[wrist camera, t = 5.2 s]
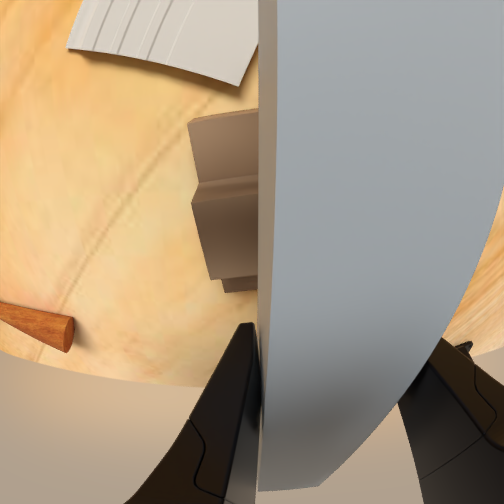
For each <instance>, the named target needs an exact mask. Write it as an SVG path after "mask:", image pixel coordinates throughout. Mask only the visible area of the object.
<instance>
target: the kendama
mask: <svg viewBox="0 0 504 504" xmlns="http://www.w3.org/2000/svg"><path fill="white" fill-rule="evenodd" d="M0 319H1V320H2V321H4V322H6V323H8V324H9V325H11V326H13V327H15V328H17V329H18V330H20V331H22V332H24V333H26V334H28V335H30V336H31V337H33V338H35V339H37V340H39V341H41V342H43V343H45V344H47V345H50V346H52V347H54V348H56V349H58V350H60V351H62V352H65V353H67V352H68V351H69V350H70V348H71V345H72V341H73V337H74V330H75V329H74V322H73V317H69V316H64V315H58V314H53V313H48V312H43V311H38V310H33V309H29V308H24V307H20V306H15V305H11V304H7V303H3V302H0Z"/></svg>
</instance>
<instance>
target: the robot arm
mask: <svg viewBox="0 0 504 504" xmlns="http://www.w3.org/2000/svg"><path fill="white" fill-rule="evenodd" d="M472 346H473V343H472V341H469V342H467V343H464V344H461V345H459V346H456V347H454V346H452V345H451V344H450V343H449V342H447V341H446V340H445V339H443V338H442V337H441V338H440V340H439V342H438V343H437V345H436V347H435V348H434V350H433V352H432V353H431V355H430V356H429V358H428V359H427V361H426V363H425V364H424V366H423V367H422V369H421V370H420V372H419V373H418V374H417V376H416V377H415V379H414V380H413V382H412V383H411V384H410V386H409V387H408V389H407V390H406V391H405V393H404V394H403V395H402V397H401V398H400V399H399V401H398V402H397V403H398V406H399V409H400V413H401V416H402V419H403V422H404V426H405V429H406V432H407V436H408V440H409V443H410V447H411V450H412V454H413V458H414V462H415V466H416V470H417V474H418V478H419V483H420V487H421V492H422V497H423V502H424V504H504V386H503V385H502V384H501V383H499V382H498V381H496V380H495V379H494V378H493V377H491V376H490V375H489V374H487V373H486V372H485V371H484V370H482V369H481V368H480V367H479V366H477V365H476V364H474V362H473V360H472V358H471V356H470V354H469V351H470V349H471V348H472ZM260 418H261V376H260V362H259V350H258V341H257V336H256V330H255V325H254V323H252V322H249V323H241V324H239V326H238V327H237V329H236V331H235V333H234V335H233V337H232V339H231V341H230V342H229V344H228V346H227V348H226V350H225V352H224V354H223V356H222V357H221V359H220V361H219V363H218V365H217V367H216V369H215V370H214V372H213V374H212V376H211V378H210V380H209V381H208V383H207V385H206V387H205V389H204V391H203V393H202V394H201V396H200V398H199V400H198V402H197V403H196V405H195V407H194V409H193V411H192V413H191V414H190V416H189V419H188V420H187V421H186V423H185V425H184V427H183V428H182V430H181V432H180V433H179V435H178V437H177V438H176V440H175V442H174V443H173V445H172V446H171V448H170V449H169V451H168V452H167V453H166V455H165V456H164V457H163V459H162V460H161V461H160V463H159V464H158V465H157V467H156V468H155V469H154V471H153V472H152V473H151V474H150V475H149V477H148V478H147V479H146V481H145V482H144V483H143V484H142V486H141V487H140V488H139V489H138V491H137V492H136V493H135V494H134V495H133V496H132V497H131V498H130V499H129V500H128V501H126V502H125V503H124V504H255V495H256V480H257V466H258V451H259V435H260Z"/></svg>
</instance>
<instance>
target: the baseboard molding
mask: <svg viewBox="0 0 504 504" xmlns="http://www.w3.org/2000/svg"><path fill="white" fill-rule="evenodd" d="M257 45H258V0H83V2H82V5H81V7H80V10H79V12H78V14H77V17H76V19H75V22H74V25H73V27H72V30H71V33H70V36H69V39H68V42H67V45H66V48H71V49H80V50H88V51H96V52H103V53H110V54H116V55H122V56H127V57H133V58H138V59H143V60H147V61H152V62H156V63H161V64H165V65H169V66H173V67H177V68H180V69H184V70H188V71H191V72H195V73H198V74H201V75H205V76H208V77H211V78H214V79H218V80H221V81H224V82H227V83H230V84H233V85H235V86H238V87H239V85H240V82H241V80H242V78H243V75H244V73H245V71H246V69H247V66H248V64H249V62H250V60H251V58H252V55H253V53H254V51H255V49H256V47H257Z"/></svg>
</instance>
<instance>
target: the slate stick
mask: <svg viewBox="0 0 504 504" xmlns="http://www.w3.org/2000/svg"><path fill="white" fill-rule="evenodd" d="M258 72H259V172H258V318H257V341H258V350H259V362H260V376H261V418H260V435H259V451H258V466H257V480H258V491H277V490H290V489H300V488H308V487H316V486H319V485H320V484H321V483H322V482H323V481H325V480H326V479H327V478H328V477H329V476H330V475H331V474H332V473H333V472H334V471H335V470H337V469H338V468H339V467H340V466H341V465H342V464H343V463H344V462H345V461H346V460H347V459H348V458H349V457H350V456H351V455H352V454H353V453H354V452H355V451H356V450H357V449H358V448H359V446H360V445H361V444H362V443H363V442H364V441H365V440H366V439H367V438H368V437H369V436H370V434H371V433H372V432H373V431H374V430H375V428H377V426H378V425H379V424H380V423H381V422H382V421H383V419H384V418H385V417H386V416H387V415H388V413H389V412H390V411H391V410H392V408H393V407H394V406H395V405H396V403H397V402H398V401H399V399H400V398H401V397H402V395H403V394H404V393H405V391H406V390H407V389H408V387H409V386H410V384H411V383H412V382H413V380H414V379H415V377H416V376H417V374H418V373H419V372H420V370H421V369H422V367H423V366H424V364H425V363H426V361H427V359H428V358H429V356H430V355H431V353H432V352H433V350H434V348H435V347H436V345H437V343H438V342H439V340H440V338H441V337H442V335H443V333H444V331H445V330H446V328H447V326H448V324H449V323H450V321H451V319H452V317H453V315H454V313H455V311H456V309H457V307H458V306H459V304H460V302H461V300H462V297H463V295H464V293H465V291H466V289H467V287H468V285H469V283H470V280H471V278H472V276H473V274H474V271H475V269H476V267H477V264H478V262H479V259H480V257H481V254H482V252H483V249H484V247H485V244H486V241H487V238H488V236H489V233H490V230H491V227H492V224H493V221H494V218H495V215H496V211H497V208H498V205H499V201H500V197H501V194H502V190H503V186H504V0H258Z"/></svg>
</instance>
